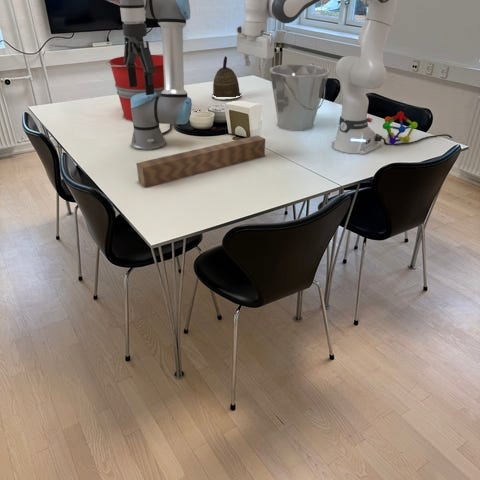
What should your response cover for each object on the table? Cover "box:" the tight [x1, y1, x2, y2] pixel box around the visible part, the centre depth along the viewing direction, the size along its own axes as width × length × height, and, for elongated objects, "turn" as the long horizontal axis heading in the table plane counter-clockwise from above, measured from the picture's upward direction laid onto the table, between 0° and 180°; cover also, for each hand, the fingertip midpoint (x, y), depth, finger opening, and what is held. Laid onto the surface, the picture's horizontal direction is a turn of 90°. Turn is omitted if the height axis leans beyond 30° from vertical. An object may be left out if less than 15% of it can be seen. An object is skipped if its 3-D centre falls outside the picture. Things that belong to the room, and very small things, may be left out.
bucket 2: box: [269, 63, 330, 131], centre depth 226 cm, size 30×30×28 cm
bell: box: [212, 56, 242, 97], centre depth 278 cm, size 19×26×20 cm
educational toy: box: [382, 110, 418, 144], centre depth 207 cm, size 16×13×15 cm
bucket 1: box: [105, 54, 164, 122], centre depth 239 cm, size 35×35×30 cm
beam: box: [135, 135, 266, 188], centre depth 181 cm, size 57×6×8 cm, turn 125°
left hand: (141, 90), depth 153 cm, fingers open, 13 cm apart
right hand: (254, 67), depth 176 cm, fingers open, 8 cm apart
